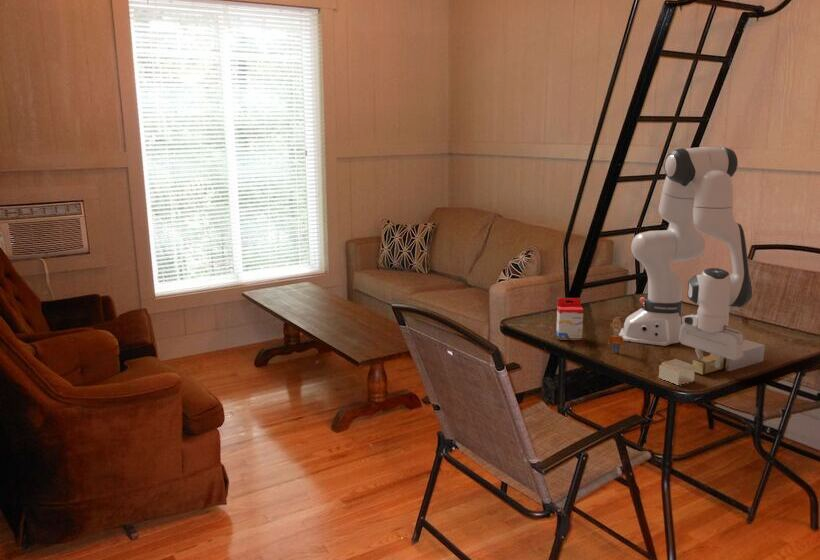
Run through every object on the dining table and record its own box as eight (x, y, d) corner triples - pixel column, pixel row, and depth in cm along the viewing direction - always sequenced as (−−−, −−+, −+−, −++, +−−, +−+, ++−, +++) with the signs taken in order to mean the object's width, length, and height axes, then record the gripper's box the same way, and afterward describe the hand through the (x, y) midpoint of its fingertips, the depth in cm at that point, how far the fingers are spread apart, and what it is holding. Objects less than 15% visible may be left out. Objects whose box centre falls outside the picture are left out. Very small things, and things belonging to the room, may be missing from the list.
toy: (606, 352, 226) (608, 316, 223) (609, 350, 228) (610, 314, 225) (622, 355, 223) (624, 318, 220) (624, 352, 225) (626, 316, 223)
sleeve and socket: (743, 355, 221) (745, 339, 219) (763, 361, 215) (765, 345, 213) (658, 378, 202) (659, 361, 200) (677, 386, 196) (679, 368, 194)
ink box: (558, 341, 239) (559, 301, 236) (555, 336, 244) (557, 297, 240) (582, 340, 239) (584, 301, 235) (579, 336, 243) (581, 297, 240)
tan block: (737, 358, 217) (738, 347, 216) (748, 361, 213) (749, 350, 213) (692, 371, 206) (693, 359, 205) (702, 374, 203) (703, 363, 202)
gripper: (750, 329, 196) (745, 373, 199) (691, 313, 214) (688, 354, 217) (736, 332, 193) (732, 377, 196) (677, 316, 211) (674, 357, 214)
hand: (708, 365), depth 207 cm, fingers closed on tan block, 4 cm apart
